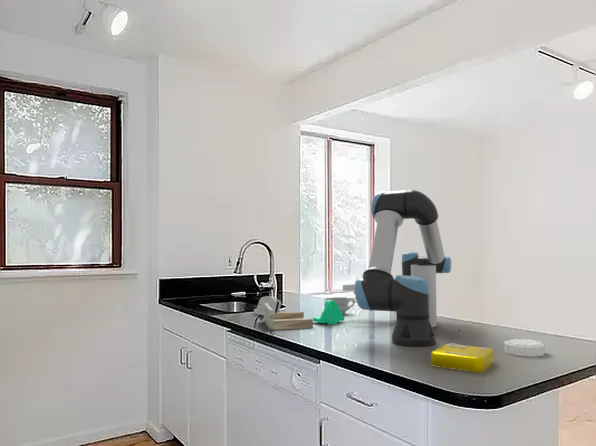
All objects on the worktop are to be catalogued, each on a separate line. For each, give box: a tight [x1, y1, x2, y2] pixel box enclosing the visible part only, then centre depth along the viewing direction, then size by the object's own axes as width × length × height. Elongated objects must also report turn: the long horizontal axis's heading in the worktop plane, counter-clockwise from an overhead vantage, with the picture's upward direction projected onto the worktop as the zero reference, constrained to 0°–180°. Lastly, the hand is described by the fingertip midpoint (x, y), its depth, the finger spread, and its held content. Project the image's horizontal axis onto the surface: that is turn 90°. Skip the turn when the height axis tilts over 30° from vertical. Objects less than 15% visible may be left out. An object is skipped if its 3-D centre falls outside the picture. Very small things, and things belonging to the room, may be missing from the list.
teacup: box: [325, 296, 356, 315], centre depth 249 cm, size 14×11×8 cm
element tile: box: [430, 343, 495, 373], centre depth 149 cm, size 15×15×5 cm
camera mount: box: [312, 299, 345, 325], centre depth 224 cm, size 12×8×10 cm, turn 119°
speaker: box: [411, 264, 438, 328], centre depth 212 cm, size 11×10×26 cm
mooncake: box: [503, 338, 546, 358], centre depth 162 cm, size 12×12×4 cm
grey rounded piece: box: [253, 295, 282, 316], centre depth 251 cm, size 17×5×10 cm, turn 34°
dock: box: [263, 303, 314, 331], centre depth 221 cm, size 22×18×8 cm
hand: (348, 289), depth 227 cm, fingers open, 13 cm apart
